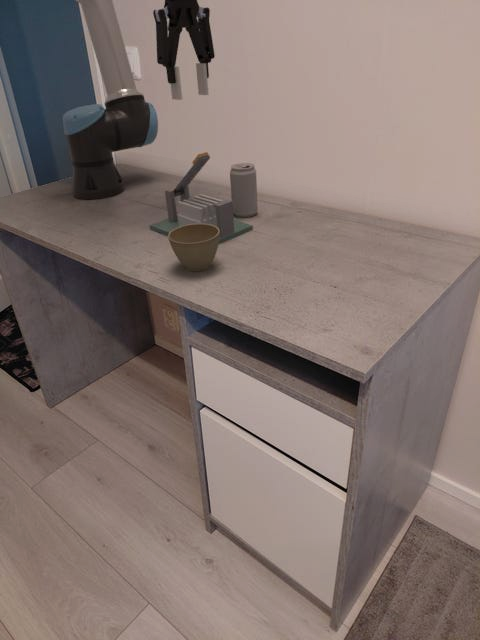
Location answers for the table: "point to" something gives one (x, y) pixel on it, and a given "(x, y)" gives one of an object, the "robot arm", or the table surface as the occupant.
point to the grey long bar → (191, 173)
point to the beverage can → (244, 189)
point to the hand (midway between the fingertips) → (190, 96)
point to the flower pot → (195, 245)
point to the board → (201, 215)
